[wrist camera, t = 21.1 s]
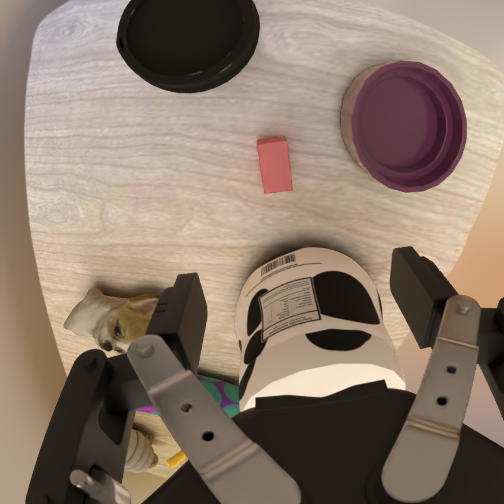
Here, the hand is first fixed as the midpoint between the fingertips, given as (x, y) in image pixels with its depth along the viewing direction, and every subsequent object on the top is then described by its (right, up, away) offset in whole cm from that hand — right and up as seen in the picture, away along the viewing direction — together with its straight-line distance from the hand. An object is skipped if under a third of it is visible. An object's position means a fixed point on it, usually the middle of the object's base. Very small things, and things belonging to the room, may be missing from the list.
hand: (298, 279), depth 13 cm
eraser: (0, +11, +19) cm, 22 cm away
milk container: (+5, -5, +28) cm, 29 cm away
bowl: (+14, +15, +17) cm, 26 cm away
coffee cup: (-5, +21, +14) cm, 26 cm away
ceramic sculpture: (-19, -7, +29) cm, 36 cm away
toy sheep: (-29, -39, +47) cm, 68 cm away
